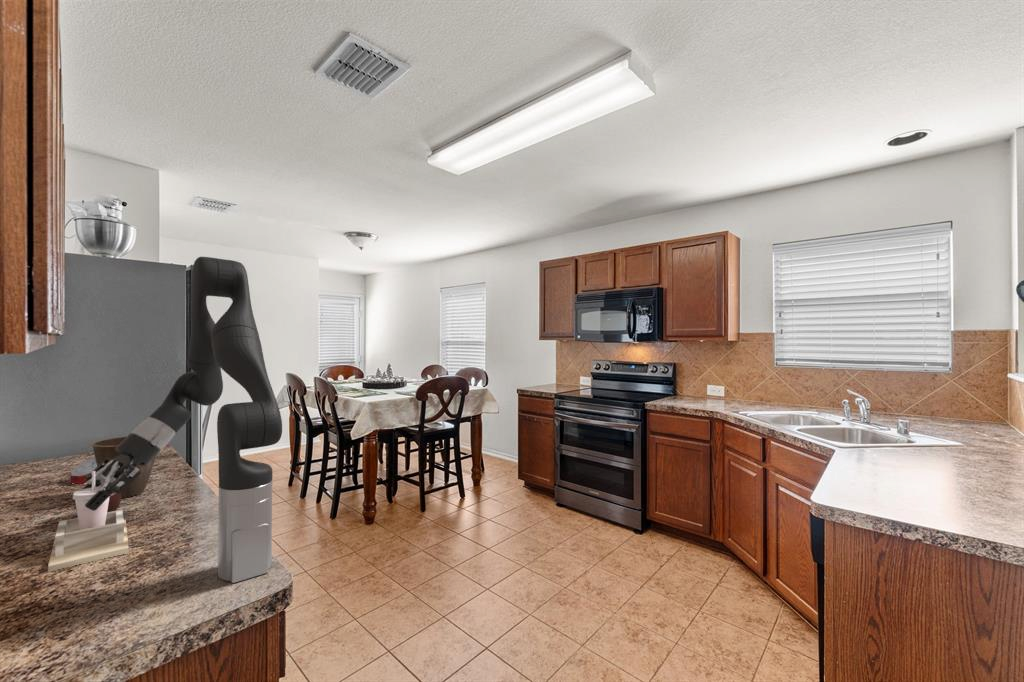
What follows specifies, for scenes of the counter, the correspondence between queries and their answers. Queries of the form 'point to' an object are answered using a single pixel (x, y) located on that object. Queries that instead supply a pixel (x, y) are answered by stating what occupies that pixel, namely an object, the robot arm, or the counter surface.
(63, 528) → the dock
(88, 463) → the canned food
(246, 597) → the counter surface
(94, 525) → the smoothie
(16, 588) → the counter surface
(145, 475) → the plant pot
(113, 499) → the potato
